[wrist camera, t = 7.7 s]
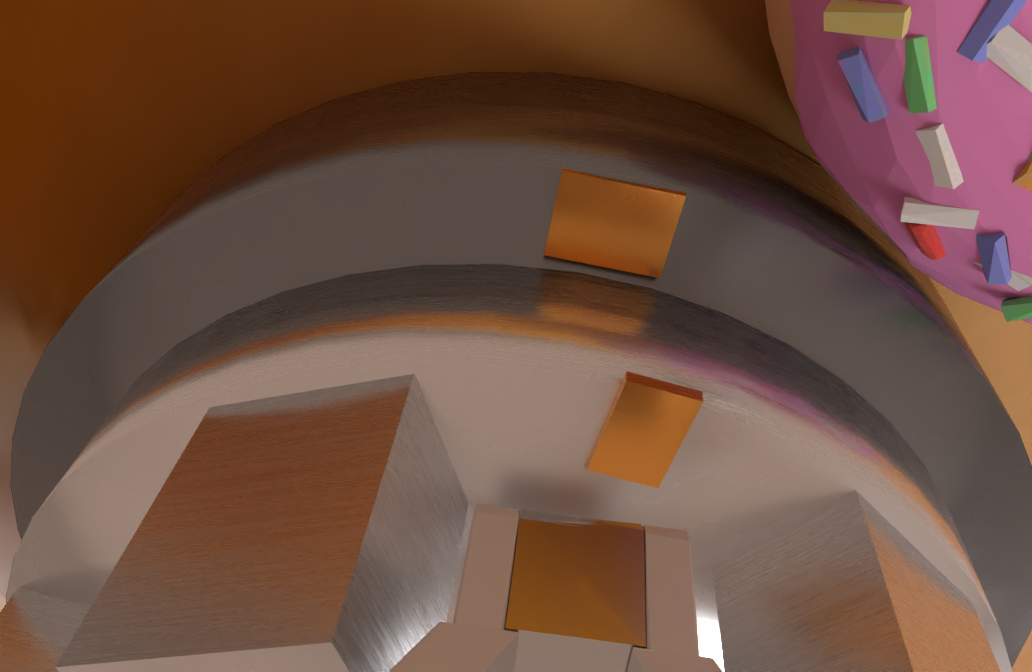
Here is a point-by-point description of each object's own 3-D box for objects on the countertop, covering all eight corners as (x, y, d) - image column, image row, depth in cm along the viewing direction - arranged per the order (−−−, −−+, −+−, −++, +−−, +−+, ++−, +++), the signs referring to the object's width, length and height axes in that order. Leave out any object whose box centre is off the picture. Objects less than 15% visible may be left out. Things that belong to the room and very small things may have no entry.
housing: (44, -34, 15) (-115, 33, 12) (1183, 196, 16) (1335, 322, 12) (144, 651, 28) (79, 779, 24) (782, 769, 28) (805, 910, 25)
